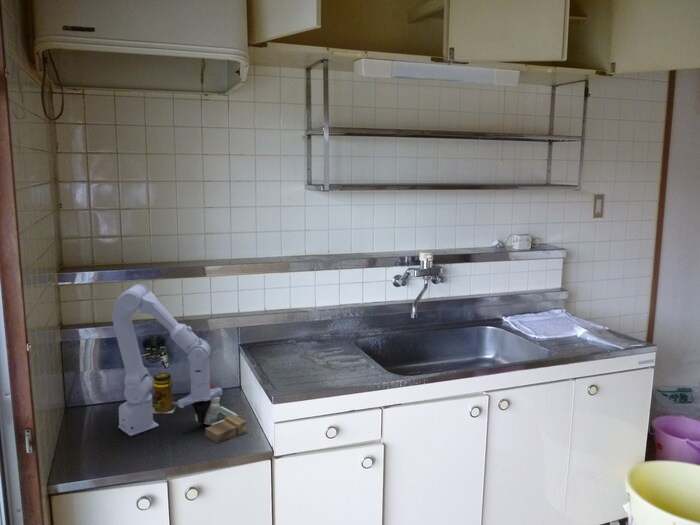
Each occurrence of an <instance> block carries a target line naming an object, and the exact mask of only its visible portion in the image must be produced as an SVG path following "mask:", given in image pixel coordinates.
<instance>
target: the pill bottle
mask: <svg viewBox="0 0 700 525" xmlns="http://www.w3.org/2000/svg"><path fill="white" fill-rule="evenodd" d="M220 400H221V396H219V395H217V396H214V397H211V398H210V401H211V405H210V406H209V408H208V410H207V413H206V416H205V419H204V423H203V425H204V424H205V425H209V426H212V424H213V423H216V422H217V419H218V415H219V414H218V411H219V407H220V406H221V405H220Z"/></svg>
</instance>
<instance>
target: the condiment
mask: <svg viewBox="0 0 700 525" xmlns="http://www.w3.org/2000/svg"><path fill="white" fill-rule="evenodd" d="M171 377H172V375H171V374H170V373H169V372H158V373H156V374H154V376H153V381H154V386H153V388H152V389H153V390H152V391H153V392H152V393H153V395H152V398H153V414H174V412H175V410H176V408H177V407H178V401H174V396H173V381H172V379H171ZM173 406H174V407H173Z"/></svg>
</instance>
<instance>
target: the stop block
mask: <svg viewBox="0 0 700 525" xmlns="http://www.w3.org/2000/svg"><path fill="white" fill-rule="evenodd" d="M224 419H225V421H226V422H228V423H230V424H232V425H233V426H235V427H237V436H241V435H243V434H246V433H247V420H244V419H243V418H240V417H237V416H235V415H233V414H232V415H229V416H224Z"/></svg>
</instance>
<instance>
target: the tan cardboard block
mask: <svg viewBox="0 0 700 525" xmlns="http://www.w3.org/2000/svg"><path fill="white" fill-rule="evenodd" d="M204 430H205V432H204V433H205V437H206V438H207V439H208V440H211V441H213V442H214V443H216V444H220V443H222V442H224V441H227V440H229V439H231V438H235V437H236V436H238V435H237V427H235V426H233V425H232V424H230V423H228V422H226V421H223V422H220V423H218V424H215V425H209V426H208V427H205V429H204Z"/></svg>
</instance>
